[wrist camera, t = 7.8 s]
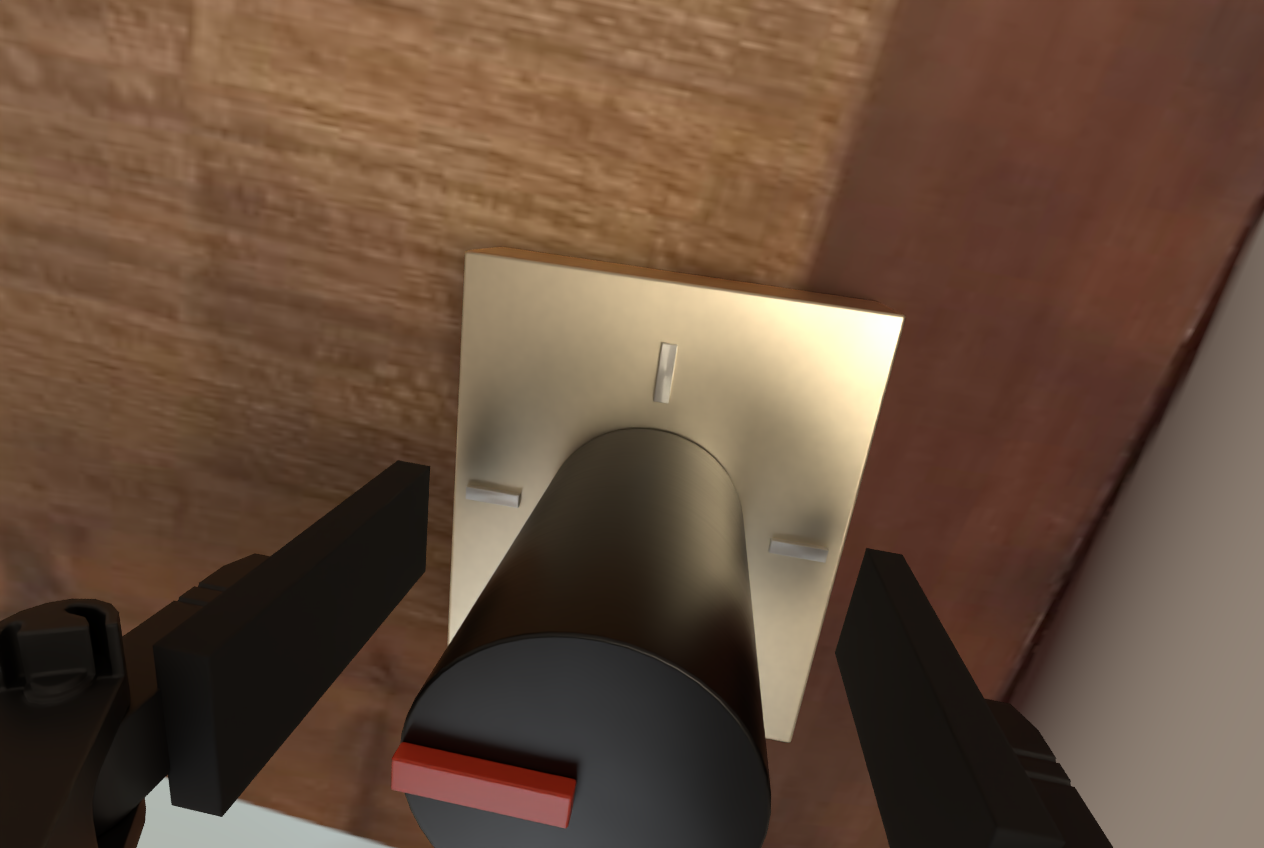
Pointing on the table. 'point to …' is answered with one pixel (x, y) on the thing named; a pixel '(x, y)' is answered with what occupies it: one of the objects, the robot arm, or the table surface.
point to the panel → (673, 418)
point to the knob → (602, 670)
